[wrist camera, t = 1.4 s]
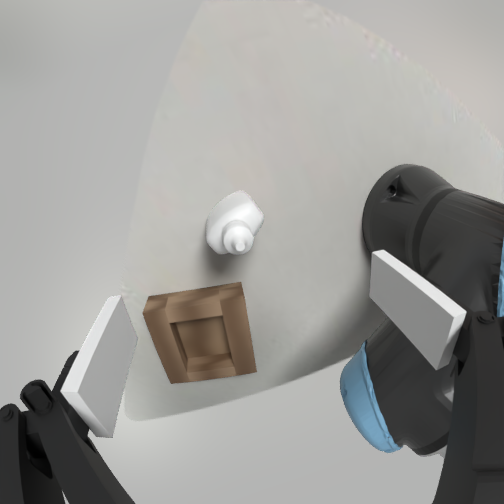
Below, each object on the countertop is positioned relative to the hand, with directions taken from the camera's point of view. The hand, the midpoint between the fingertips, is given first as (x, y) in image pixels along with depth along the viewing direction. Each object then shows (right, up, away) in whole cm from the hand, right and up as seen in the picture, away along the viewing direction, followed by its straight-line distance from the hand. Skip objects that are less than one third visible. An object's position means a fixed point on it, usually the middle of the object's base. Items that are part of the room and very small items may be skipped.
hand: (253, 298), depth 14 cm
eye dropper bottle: (-3, +7, +18) cm, 20 cm away
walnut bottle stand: (-7, -8, +23) cm, 25 cm away
